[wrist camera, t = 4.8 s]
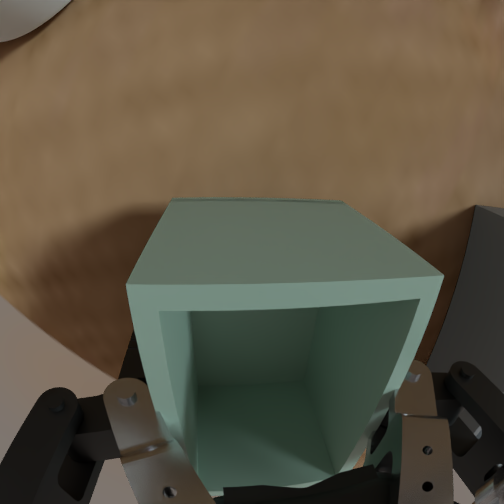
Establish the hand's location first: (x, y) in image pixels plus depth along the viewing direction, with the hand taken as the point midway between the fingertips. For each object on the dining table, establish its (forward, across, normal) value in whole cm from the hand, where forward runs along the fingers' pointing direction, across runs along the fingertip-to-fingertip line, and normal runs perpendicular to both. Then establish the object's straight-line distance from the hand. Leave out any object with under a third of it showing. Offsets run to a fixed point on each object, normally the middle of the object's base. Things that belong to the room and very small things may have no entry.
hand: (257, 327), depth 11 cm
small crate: (+1, 0, 0) cm, 1 cm away
